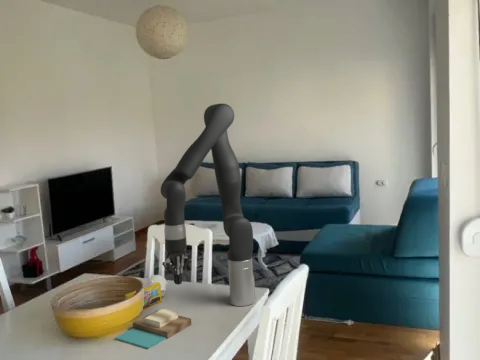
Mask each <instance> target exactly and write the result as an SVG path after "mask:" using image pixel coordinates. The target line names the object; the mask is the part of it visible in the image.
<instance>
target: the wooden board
mask: <svg viewBox="0 0 480 360" xmlns="http://www.w3.org/2000/svg"><path fill="white" fill-rule="evenodd" d="M158 311H159V310H155V311H153V312H151V313H150V314H147V315H145V316H143V317H142V318H140V319H138V320H136V321H133V322H132V329H133V328H134V329H138V330H141V331H145V332H149V333H152V334H156V335H159V336H163V337H166V339H167V340H168V339H170V338H171V337H172V336H175V335H177V334H178V333H179V332H180V333H181V331H183V330H185V329H186V328H188V327H190V326H192V318H190V317H186V316H182V315H178V318H177V319H175V320H173V321H171V322H170V323H168V324H166V325H164V326H162V327H161V328H159V327H155V326H152V325H148V324H145V318H146V317H148V316H150V315H152V314H154V313H156V312H158Z"/></svg>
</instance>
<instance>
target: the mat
mask: <svg viewBox="0 0 480 360" xmlns="http://www.w3.org/2000/svg"><path fill="white" fill-rule="evenodd" d="M114 339H115V340H116V341H119V342H120V341H121V342H124V343H126V344H130V345H133V346H137V347H141V348H143V349H146V350H149V349H151V348H152V347H154V346H156V345H158V344H159V343H160V342H163V341H165V340H166V339H167V338H166V337H163V336H159V335H156V334H152V333H149V332H145V331H141V330H138V329H134V328H133V327H132V328H131V329H130V330H127V331H125V332H124V333H122V334H120V335H117V336H116V337H115V338H114Z"/></svg>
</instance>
